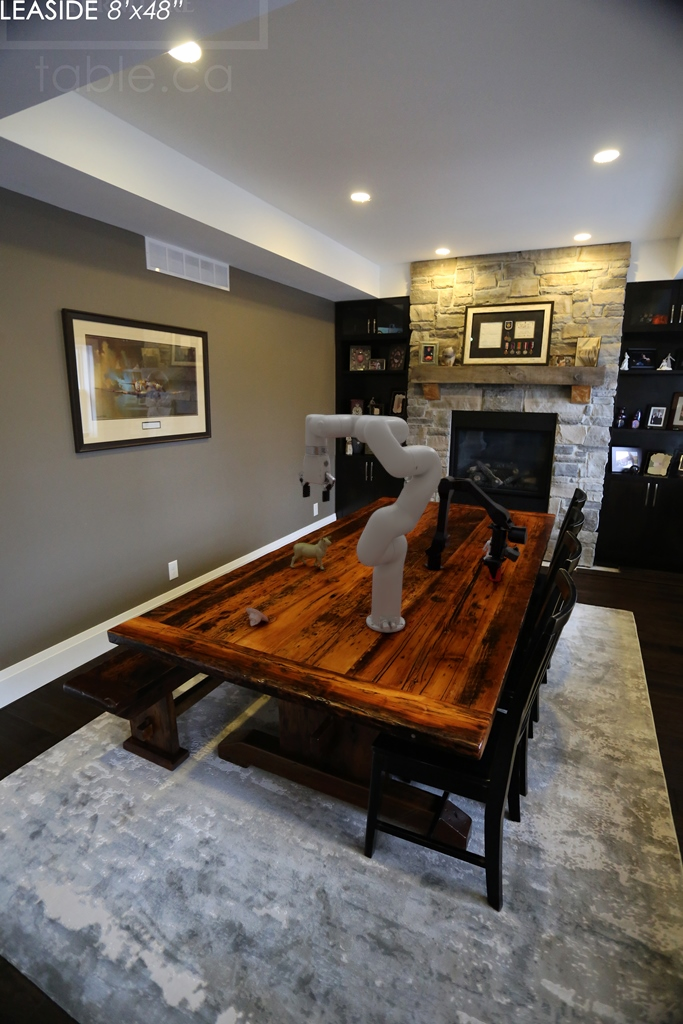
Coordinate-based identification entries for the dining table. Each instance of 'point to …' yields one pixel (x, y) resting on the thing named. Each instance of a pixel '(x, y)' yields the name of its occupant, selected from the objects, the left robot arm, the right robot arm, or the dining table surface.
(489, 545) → the figurine
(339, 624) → the dining table surface
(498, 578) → the can
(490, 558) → the right robot arm
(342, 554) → the dining table surface
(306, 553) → the toy
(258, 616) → the seashell
